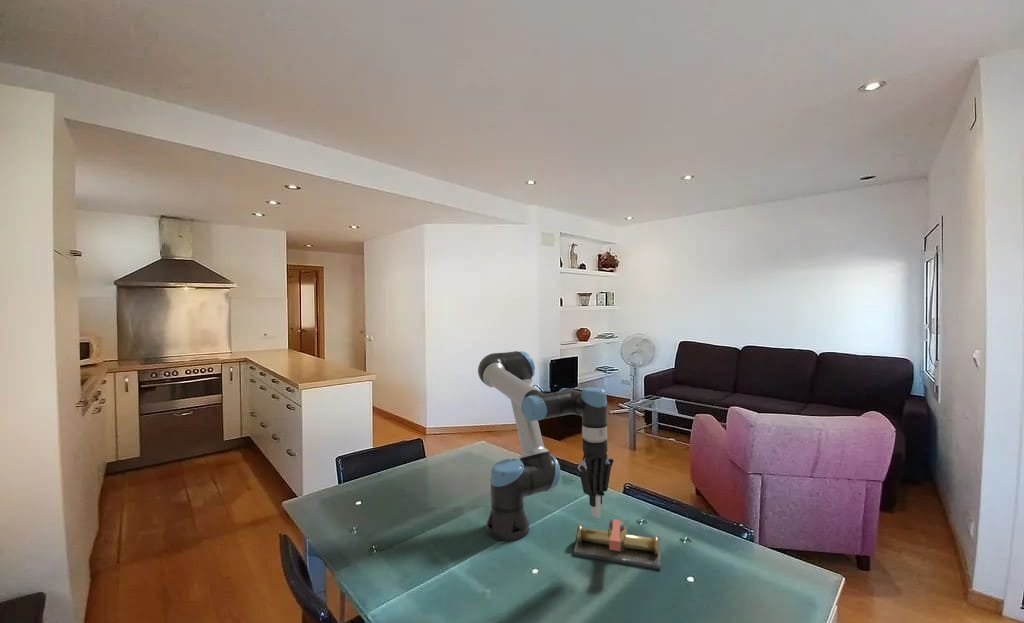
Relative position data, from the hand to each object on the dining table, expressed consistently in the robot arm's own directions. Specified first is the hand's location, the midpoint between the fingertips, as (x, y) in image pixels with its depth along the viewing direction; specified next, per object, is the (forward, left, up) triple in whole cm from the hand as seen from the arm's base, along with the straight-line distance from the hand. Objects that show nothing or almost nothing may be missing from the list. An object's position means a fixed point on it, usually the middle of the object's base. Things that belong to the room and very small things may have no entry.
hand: (596, 515), depth 126 cm
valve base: (+6, +9, -15) cm, 18 cm away
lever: (+6, +4, -8) cm, 10 cm away
